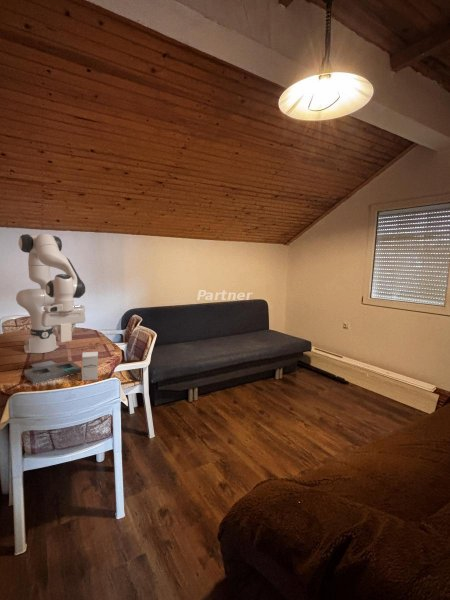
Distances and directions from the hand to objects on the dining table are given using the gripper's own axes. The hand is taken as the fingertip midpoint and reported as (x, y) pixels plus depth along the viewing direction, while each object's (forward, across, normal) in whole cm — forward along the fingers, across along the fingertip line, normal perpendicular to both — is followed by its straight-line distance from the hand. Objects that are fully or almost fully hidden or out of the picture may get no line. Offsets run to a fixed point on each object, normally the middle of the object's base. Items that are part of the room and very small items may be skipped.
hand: (64, 333), depth 153 cm
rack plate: (+21, +5, 0) cm, 22 cm away
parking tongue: (+21, +5, -14) cm, 26 cm away
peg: (+4, 0, 0) cm, 4 cm away
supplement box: (+21, -6, +15) cm, 27 cm away
